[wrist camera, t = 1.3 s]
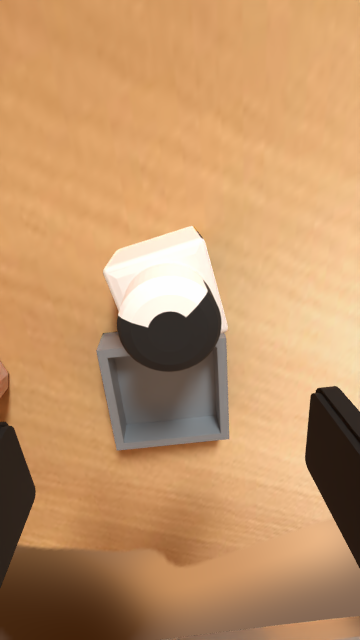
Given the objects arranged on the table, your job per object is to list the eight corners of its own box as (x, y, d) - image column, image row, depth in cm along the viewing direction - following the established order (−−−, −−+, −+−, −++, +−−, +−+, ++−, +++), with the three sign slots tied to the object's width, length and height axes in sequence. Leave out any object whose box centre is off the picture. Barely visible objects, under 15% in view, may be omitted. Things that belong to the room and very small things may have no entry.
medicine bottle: (215, 300, 30) (245, 367, 19) (142, 322, 31) (131, 399, 20) (194, 224, 28) (215, 251, 17) (114, 249, 28) (84, 292, 17)
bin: (223, 415, 36) (229, 439, 32) (121, 426, 35) (117, 450, 32) (219, 322, 31) (226, 338, 28) (103, 333, 31) (96, 350, 28)
